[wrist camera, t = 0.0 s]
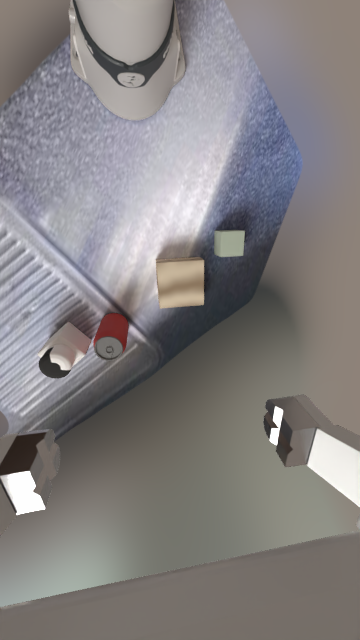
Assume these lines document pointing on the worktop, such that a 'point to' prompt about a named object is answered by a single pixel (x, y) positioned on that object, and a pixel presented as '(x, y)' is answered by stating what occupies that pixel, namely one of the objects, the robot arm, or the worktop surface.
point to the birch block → (180, 282)
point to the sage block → (229, 243)
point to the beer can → (111, 337)
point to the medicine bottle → (63, 351)
